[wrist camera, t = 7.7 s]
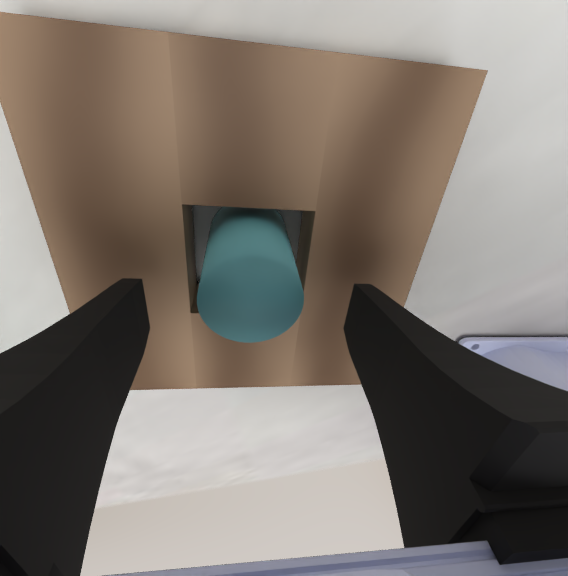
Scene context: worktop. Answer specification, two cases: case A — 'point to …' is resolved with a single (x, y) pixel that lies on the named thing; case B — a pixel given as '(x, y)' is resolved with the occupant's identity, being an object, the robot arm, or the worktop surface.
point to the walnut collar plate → (228, 176)
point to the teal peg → (249, 276)
